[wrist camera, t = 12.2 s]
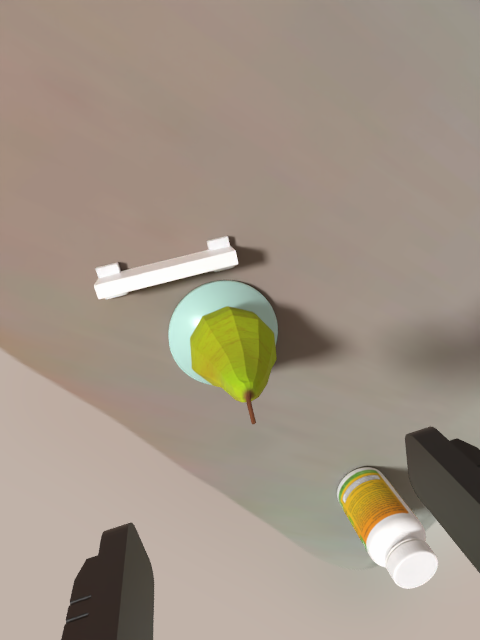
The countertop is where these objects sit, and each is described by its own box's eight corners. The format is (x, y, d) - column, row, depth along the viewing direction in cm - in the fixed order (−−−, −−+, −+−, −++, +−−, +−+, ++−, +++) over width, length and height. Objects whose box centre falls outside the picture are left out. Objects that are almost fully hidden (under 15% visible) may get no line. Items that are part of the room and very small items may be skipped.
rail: (226, 235, 31) (233, 240, 28) (233, 265, 32) (240, 273, 29) (96, 267, 30) (90, 275, 27) (106, 297, 31) (101, 308, 28)
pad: (265, 267, 32) (267, 269, 32) (284, 366, 35) (286, 369, 35) (155, 295, 31) (155, 297, 31) (184, 394, 34) (184, 397, 34)
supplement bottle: (325, 496, 41) (372, 584, 32) (358, 457, 40) (416, 535, 31) (361, 515, 43) (416, 603, 34) (394, 478, 42) (458, 558, 33)
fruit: (260, 291, 32) (315, 347, 21) (266, 361, 34) (319, 446, 23) (181, 303, 31) (193, 368, 20) (192, 374, 33) (209, 470, 22)
